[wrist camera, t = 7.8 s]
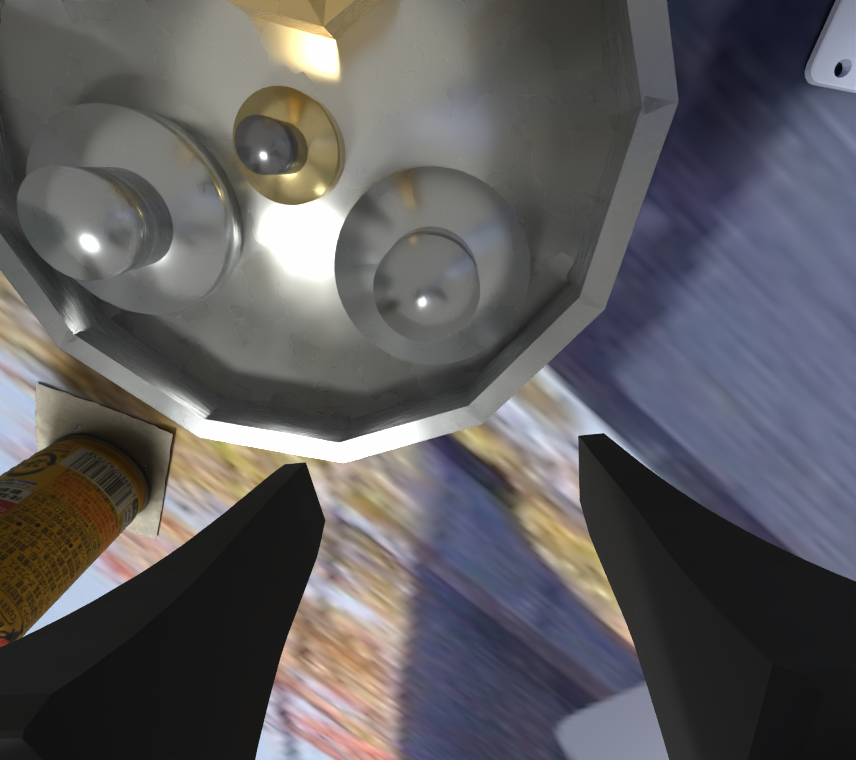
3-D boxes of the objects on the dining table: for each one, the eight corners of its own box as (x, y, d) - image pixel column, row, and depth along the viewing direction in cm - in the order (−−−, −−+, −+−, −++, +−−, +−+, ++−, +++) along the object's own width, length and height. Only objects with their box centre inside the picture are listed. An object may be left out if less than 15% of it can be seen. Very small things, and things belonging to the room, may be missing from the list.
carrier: (752, -244, 12) (947, -521, 7) (526, 452, 23) (545, 530, 18) (-103, -418, 12) (-497, -831, 7) (64, 369, 22) (-47, 425, 17)
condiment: (38, 497, 27) (-252, 722, 16) (39, 381, 23) (-337, 568, 12) (158, 537, 27) (-41, 777, 16) (176, 430, 24) (-61, 648, 13)
